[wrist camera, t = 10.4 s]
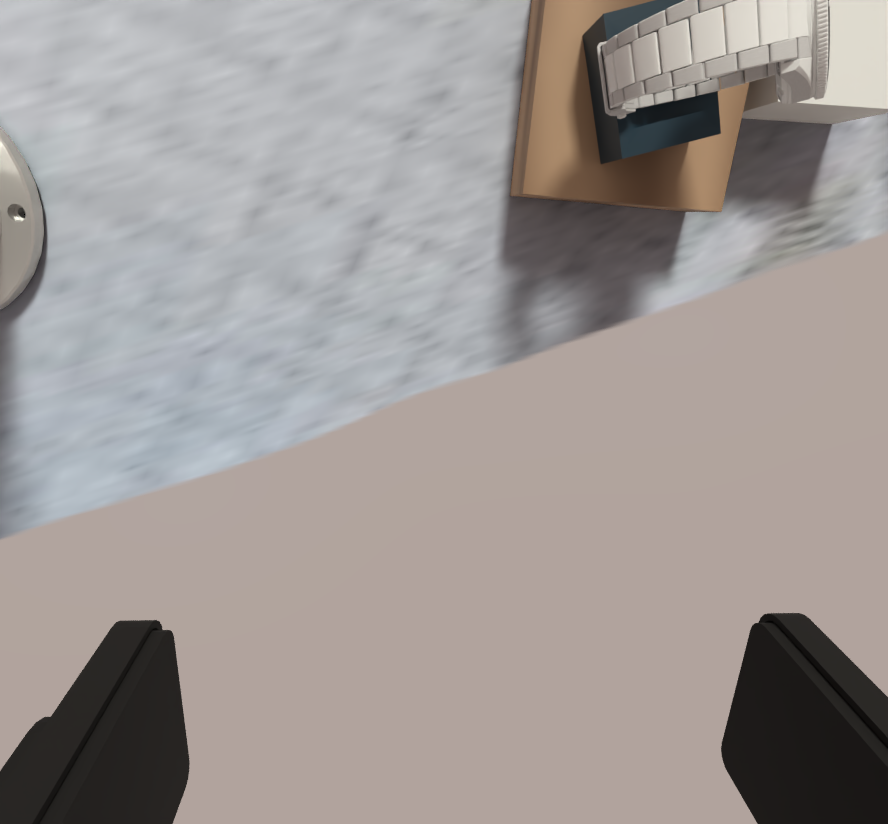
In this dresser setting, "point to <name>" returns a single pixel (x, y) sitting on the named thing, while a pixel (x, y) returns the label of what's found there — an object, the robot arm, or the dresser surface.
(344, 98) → the dresser surface
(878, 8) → the off-white block
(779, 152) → the dresser surface
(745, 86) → the walnut block
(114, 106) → the dresser surface
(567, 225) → the dresser surface
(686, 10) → the watch
